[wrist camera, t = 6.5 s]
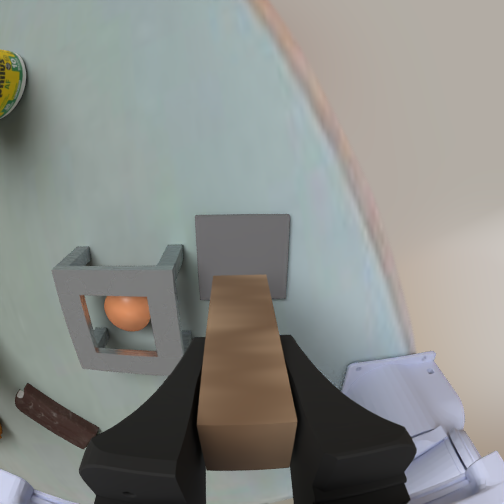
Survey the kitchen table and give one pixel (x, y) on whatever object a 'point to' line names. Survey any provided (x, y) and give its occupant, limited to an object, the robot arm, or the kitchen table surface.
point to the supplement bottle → (11, 81)
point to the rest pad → (243, 249)
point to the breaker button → (127, 312)
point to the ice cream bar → (55, 417)
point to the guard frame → (123, 284)
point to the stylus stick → (244, 380)
